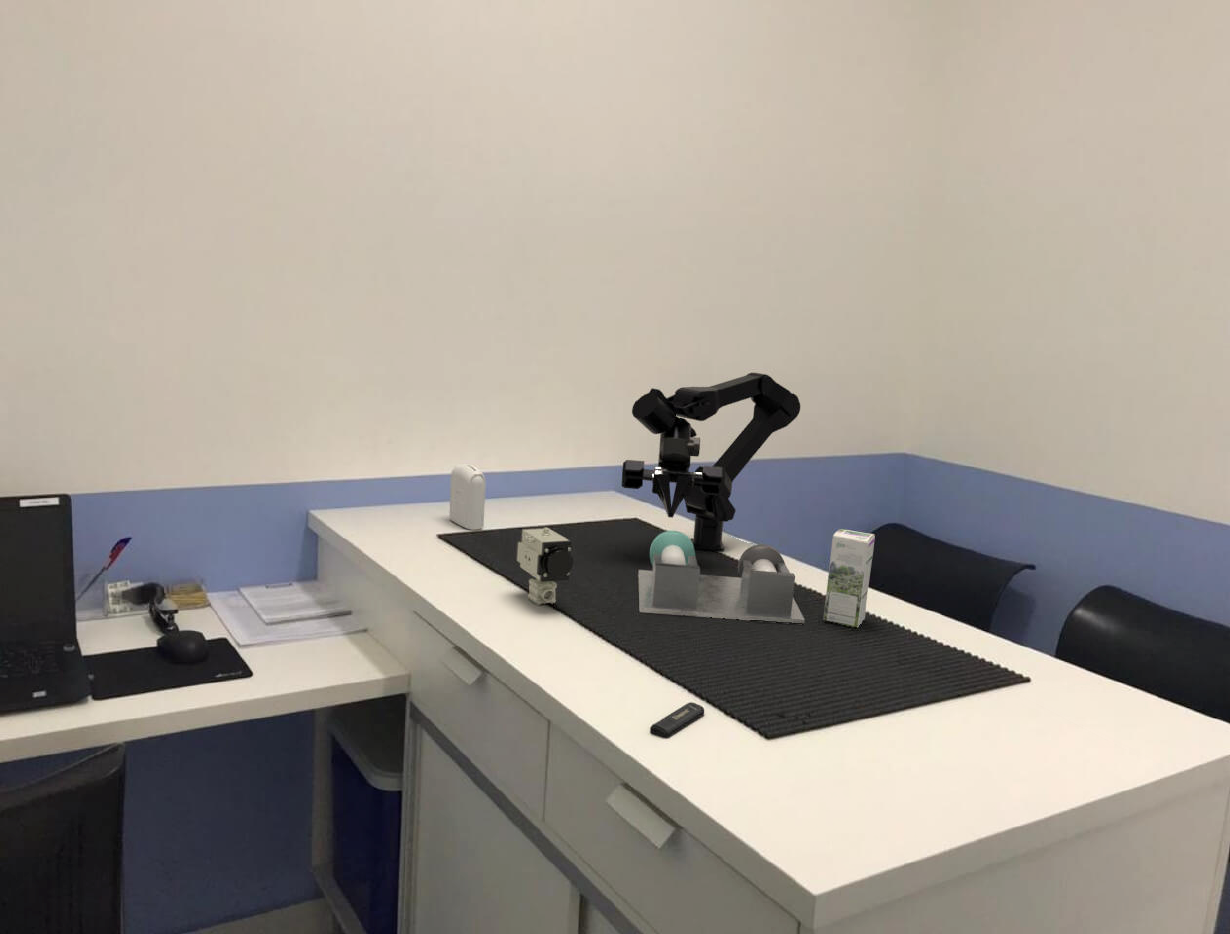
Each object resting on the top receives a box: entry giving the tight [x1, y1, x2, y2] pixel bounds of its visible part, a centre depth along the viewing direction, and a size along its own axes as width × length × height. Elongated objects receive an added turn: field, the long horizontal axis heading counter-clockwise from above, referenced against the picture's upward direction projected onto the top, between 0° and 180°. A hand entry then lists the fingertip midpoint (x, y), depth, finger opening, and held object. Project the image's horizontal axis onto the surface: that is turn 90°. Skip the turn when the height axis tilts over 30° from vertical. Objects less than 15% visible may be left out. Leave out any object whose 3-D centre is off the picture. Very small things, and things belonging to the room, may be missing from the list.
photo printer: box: [449, 463, 486, 531], centre depth 209 cm, size 10×4×12 cm, turn 32°
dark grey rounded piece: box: [737, 543, 786, 578], centre depth 170 cm, size 11×8×8 cm
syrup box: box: [822, 528, 876, 629], centre depth 165 cm, size 6×6×14 cm
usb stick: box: [649, 701, 705, 739], centre depth 122 cm, size 10×3×2 cm, turn 146°
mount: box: [637, 553, 806, 624], centre depth 173 cm, size 22×26×7 cm
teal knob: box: [649, 530, 696, 567], centre depth 175 cm, size 11×8×8 cm
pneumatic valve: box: [515, 527, 574, 606], centre depth 163 cm, size 6×12×12 cm, turn 29°
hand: (670, 516), depth 186 cm, fingers closed
